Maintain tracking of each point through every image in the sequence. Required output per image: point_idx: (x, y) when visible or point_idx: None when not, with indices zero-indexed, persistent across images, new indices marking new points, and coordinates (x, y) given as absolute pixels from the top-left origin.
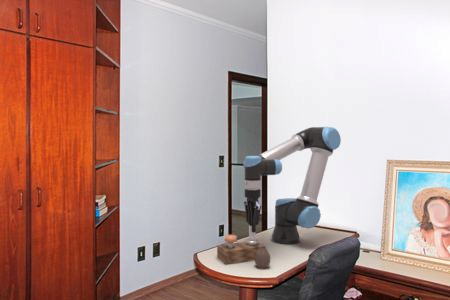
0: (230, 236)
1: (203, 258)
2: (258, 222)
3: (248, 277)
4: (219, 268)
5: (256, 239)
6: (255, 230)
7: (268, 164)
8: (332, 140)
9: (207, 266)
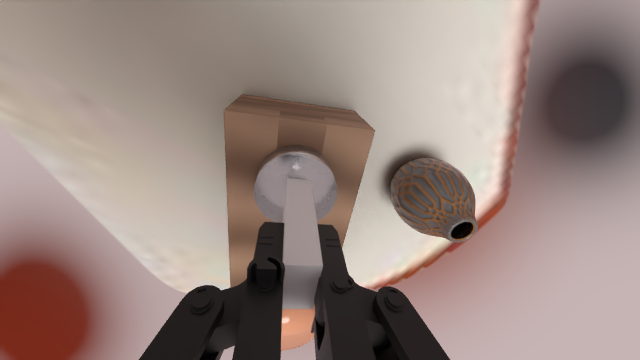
0: (285, 334)
1: None
2: (421, 321)
3: (437, 253)
4: None
5: (299, 159)
6: (338, 238)
7: None
8: None
9: None
